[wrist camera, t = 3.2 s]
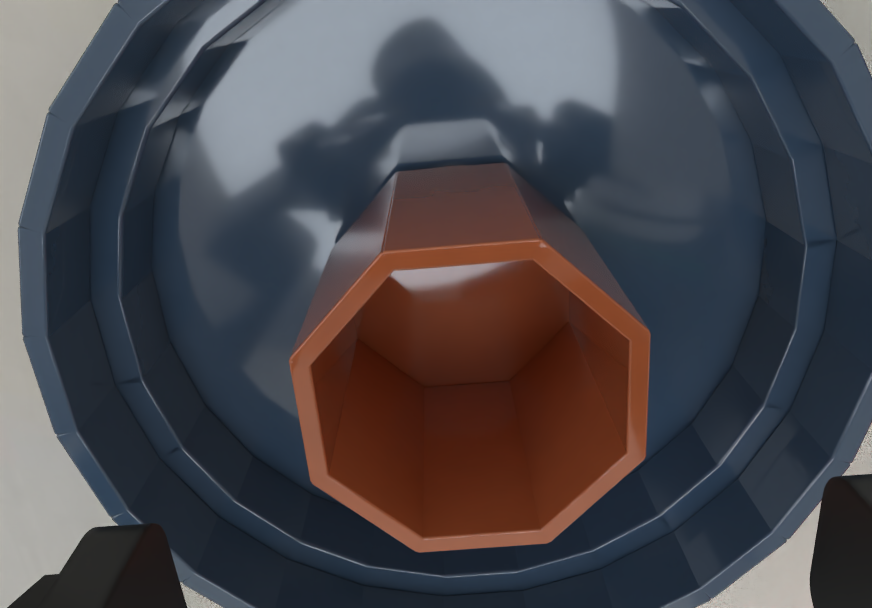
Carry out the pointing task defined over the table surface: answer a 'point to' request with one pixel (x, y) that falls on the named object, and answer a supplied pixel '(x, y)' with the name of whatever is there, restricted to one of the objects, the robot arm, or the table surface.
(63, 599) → the robot arm
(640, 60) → the big bowl
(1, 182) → the table surface
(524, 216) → the small cup
